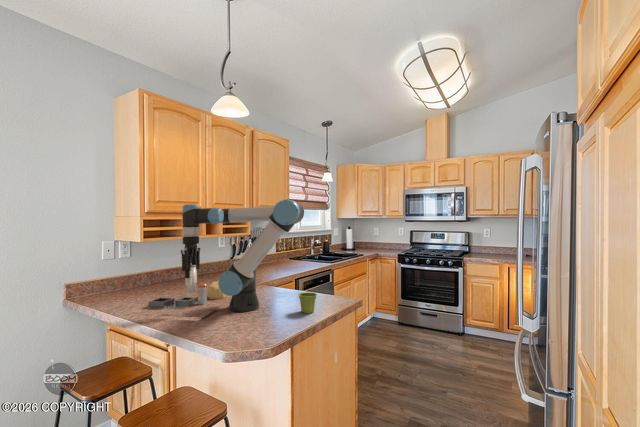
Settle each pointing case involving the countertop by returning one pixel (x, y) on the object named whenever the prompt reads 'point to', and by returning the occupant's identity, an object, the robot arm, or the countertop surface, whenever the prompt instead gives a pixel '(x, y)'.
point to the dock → (173, 303)
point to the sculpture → (215, 291)
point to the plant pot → (307, 301)
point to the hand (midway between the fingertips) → (191, 283)
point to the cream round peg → (192, 280)
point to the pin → (202, 294)
